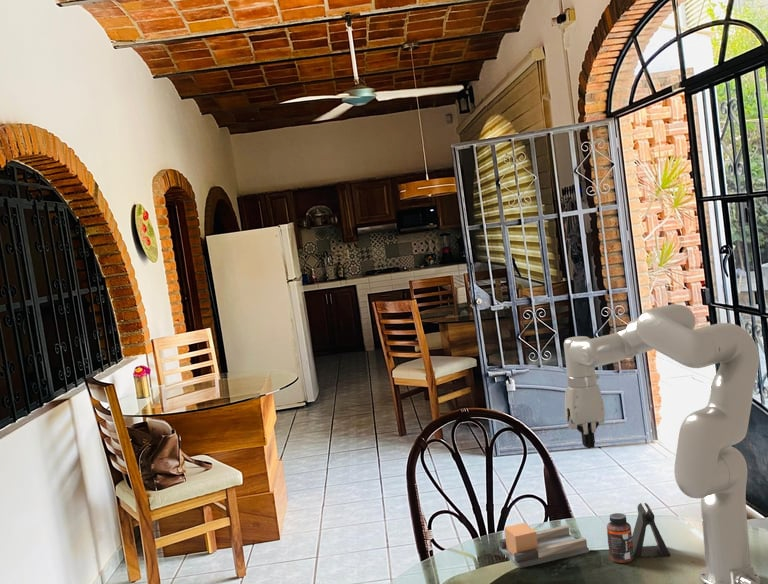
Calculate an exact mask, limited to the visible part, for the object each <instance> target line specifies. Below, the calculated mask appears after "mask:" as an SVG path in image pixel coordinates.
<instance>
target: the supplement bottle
mask: <svg viewBox="0 0 768 584" xmlns="http://www.w3.org/2000/svg"><path fill="white" fill-rule="evenodd" d="M606 534H607V545H608V546H607V547H608V555H609V559H610V560H611V561H613V562H614V563H618V564H627V563H630V562H632V561H633V560H634V559H635V558H634V556H633V555H634V554H633V543H632V535H633V532H632V527H631V524H630V523H629V522H627V515H626V514H624V513H618V512H615V513H611V514H609V522H608V523H607V524H606Z"/></svg>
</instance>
